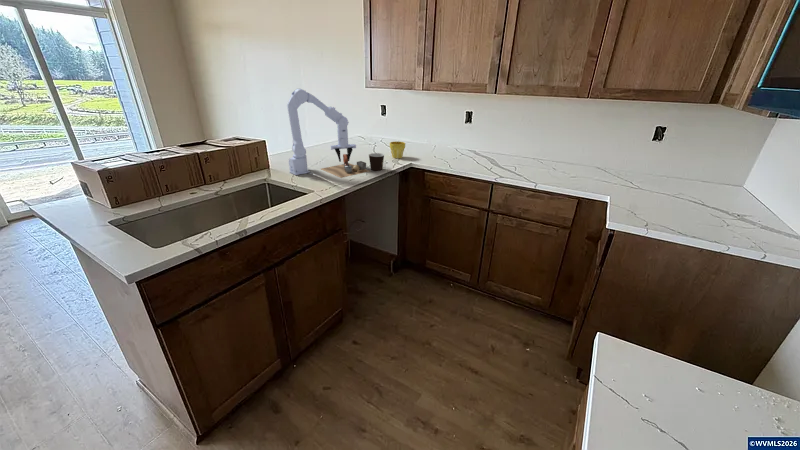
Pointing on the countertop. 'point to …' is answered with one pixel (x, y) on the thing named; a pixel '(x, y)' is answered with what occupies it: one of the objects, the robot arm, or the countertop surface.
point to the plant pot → (397, 149)
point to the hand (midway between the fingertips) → (344, 161)
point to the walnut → (356, 167)
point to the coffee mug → (376, 161)
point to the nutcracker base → (341, 172)
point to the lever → (347, 164)
